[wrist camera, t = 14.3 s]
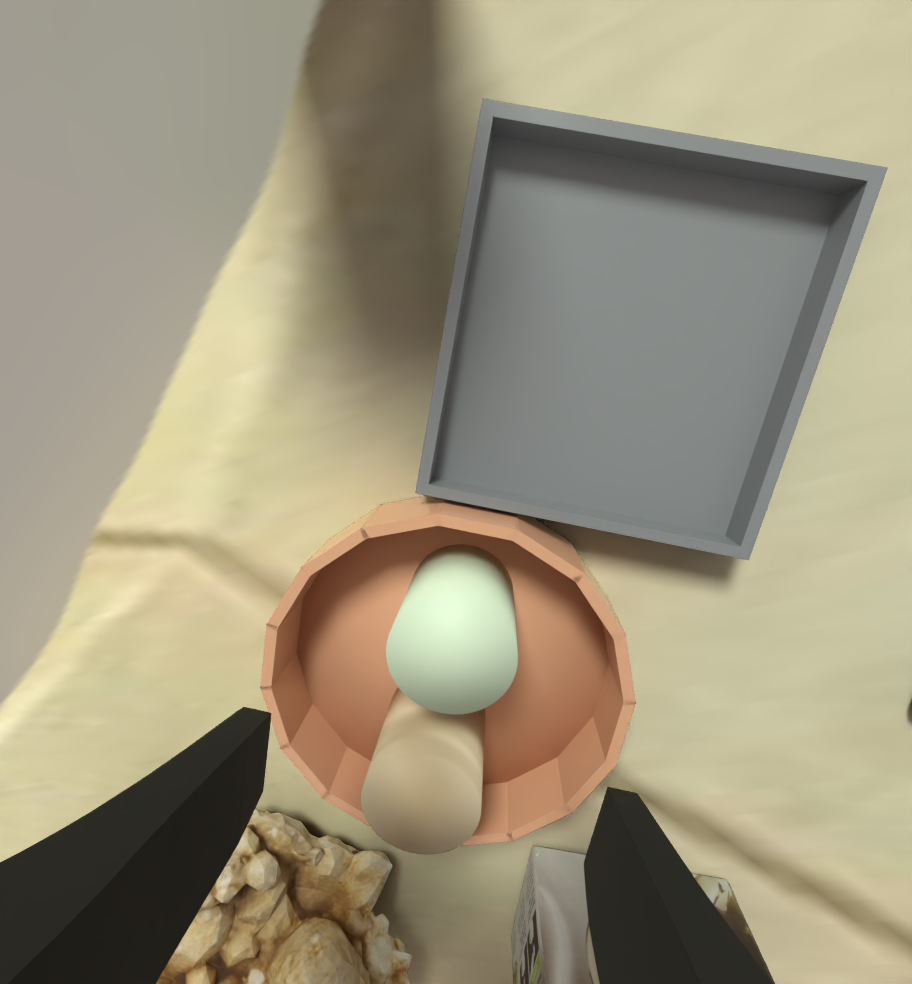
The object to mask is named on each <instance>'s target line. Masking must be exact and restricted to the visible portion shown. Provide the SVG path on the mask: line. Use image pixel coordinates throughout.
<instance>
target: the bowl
mask: <svg viewBox="0 0 912 984" xmlns="http://www.w3.org/2000/svg"><path fill="white" fill-rule="evenodd" d="M457 544H465V545H472V546H476V547H479V548H482V549H484V550H486V551H488V552H489V553H491V554H493V555H494V556H495V557H496V558H498V559H499V560H500V561H501V562H502V564H503V565H504V566H505V568H506V569H507V571H508V573H509V575H510V577H511V580H512V584H513V591H514V606H515V621H516V636H517V650H518V665H517V670H516V674H515V677H514V680H513V681H512V683H511V685H510V687H509V688H508V690H507V691H506V692H505V694H504V695H503V696H502V697H501V698H500V699H498V700H497V701H496V702H494V703H493V704H491V705H490V706H488V707H486V708H484V709H485V735H484V758H483V781H482V804H481V817H480V821H479V824H478V826H477V828H476V830H475V832H474V833H473V834H472V836H471V837H470V838H469V839H468V840H467V841H466V842H464V843H463V844H462V845H460V846H463V845H473V844H484V843H495V842H505V841H513V840H515V839H517V838H519V837H522V836H524V835H526V834H528V833H530V832H532V831H534V830H536V829H539V828H541V827H543V826H545V825H547V824H549V823H551V822H554V821H556V820H558V819H560V818H562V817H564V816H566V815H568V814H571V813H573V811H574V810H575V809H576V808H577V807H578V806H579V805H580V804H581V803H582V802H583V800H584V799H585V798H586V797H587V796H588V795H589V794H590V793H591V792H592V791H593V790H594V789H595V787H596V786H597V785H598V784H599V783H600V782H601V781H602V780H603V779H604V778H605V777H606V775H607V774H608V773H609V772H610V771H611V770H612V769H613V768H614V767H615V766H616V765H617V760H618V757H619V754H620V751H621V748H622V745H623V742H624V738H625V735H626V732H627V729H628V726H629V723H630V720H631V716H632V713H633V710H634V707H635V704H636V701H635V695H634V688H633V682H632V675H631V668H630V662H629V655H628V648H627V642H626V635H625V632H624V630H623V628H622V626H621V624H620V622H619V620H618V618H617V616H616V614H615V612H614V610H613V608H612V605H611V603H610V601H609V599H608V597H607V595H606V594H605V593H604V591H603V590H602V588H601V587H600V585H599V584H598V582H597V581H596V579H595V578H594V576H593V575H592V573H591V572H590V570H589V569H588V567H587V566H586V564H585V563H584V561H583V560H582V558H581V557H580V555H579V554H578V552H577V551H576V549H575V548H574V546H573V545H572V543H571V542H569V541H568V540H566V539H565V538H563V537H562V536H560V535H559V534H557V533H556V532H554V531H553V530H551V529H550V528H548V527H546V526H545V525H543V524H542V523H540V522H539V521H537V520H536V519H534V518H533V517H531V516H527V515H522V514H517V513H512V512H507V511H502V510H497V509H492V508H487V507H482V506H477V505H472V504H467V503H462V502H457V501H452V500H447V499H442V498H437V497H432V496H424V497H419V498H413V499H408V500H403V501H397V502H392V503H387V504H382V505H380V506H379V507H377V508H376V509H374V510H373V511H371V512H370V513H368V514H367V515H365V516H364V517H362V518H361V519H359V520H358V521H356V522H355V523H353V524H352V525H350V526H349V527H347V528H346V529H344V530H343V531H341V532H340V533H338V534H337V535H335V536H334V537H332V538H330V539H329V540H328V541H327V542H326V543H325V544H324V545H323V546H322V547H321V548H320V549H319V550H318V551H317V552H316V553H315V554H314V555H313V556H312V557H311V558H310V559H309V560H308V561H307V562H306V563H305V564H304V565H303V566H302V567H301V569H300V571H299V572H298V574H297V576H296V577H295V579H294V580H293V582H292V584H291V585H290V587H289V589H288V590H287V592H286V594H285V595H284V597H283V598H282V600H281V602H280V603H279V605H278V607H277V608H276V610H275V612H274V613H273V615H272V617H271V618H270V620H269V621H268V623H267V627H266V637H265V647H264V657H263V667H262V677H261V686H260V689H261V691H262V694H263V697H264V700H265V703H266V706H267V709H268V712H269V713H271V721H272V724H273V727H274V730H275V733H276V736H277V739H278V742H279V745H280V748H281V749H282V750H283V752H284V753H285V754H286V755H287V756H288V758H289V759H290V760H291V761H292V762H293V764H294V765H295V766H296V767H297V768H298V769H299V771H300V772H301V773H302V774H303V775H304V777H305V778H306V779H307V780H308V781H309V783H310V784H311V785H312V786H313V787H314V789H315V790H316V791H317V792H318V793H319V795H320V796H321V797H322V798H323V799H325V800H327V801H328V802H330V803H332V804H333V805H335V806H337V807H338V808H340V809H342V810H343V811H345V812H347V813H348V814H350V815H352V816H353V817H355V818H357V819H358V820H360V821H362V822H363V823H365V824H367V825H368V826H370V825H369V824H368V822H367V820H366V818H365V816H364V813H363V810H362V806H361V792H362V788H363V784H364V781H365V778H366V775H367V772H368V769H369V766H370V763H371V760H372V757H373V754H374V751H375V748H376V745H377V742H378V739H379V736H380V733H381V730H382V727H383V724H384V721H385V718H386V715H387V712H388V709H389V706H390V703H391V700H392V697H393V695H394V693H395V691H396V690H397V688H398V686H397V685H396V683H395V681H394V680H393V678H392V676H391V674H390V671H389V668H388V665H387V659H386V645H387V640H388V636H389V633H390V631H391V628H392V626H393V623H394V621H395V619H396V616H397V614H398V612H399V609H400V607H401V604H402V602H403V600H404V597H405V595H406V592H407V590H408V588H409V585H410V583H411V580H412V578H413V576H414V573H415V571H416V569H417V568H418V566H419V564H420V563H421V562H422V561H423V560H424V559H425V558H426V557H427V556H428V555H429V554H431V553H432V552H434V551H436V550H438V549H440V548H442V547H445V546H449V545H457Z"/></svg>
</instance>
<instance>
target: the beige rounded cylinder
mask: <svg viewBox="0 0 912 984" xmlns="http://www.w3.org/2000/svg"><path fill="white" fill-rule="evenodd" d="M484 735H485V709H482V710H479V711H476V712H472V713H467V714H456V715H454V714H444V713H438V712H435V711H431V710H429V709H426V708H424V707H422V706H420V705H418V704H417V703H415V702H414V701H412V700H411V699H410V698H408V697H407V696H406V695H405V694H404V693H403V692H402V691H401V690H400V688H399V687H398V688H397V690H396V691H395V693H394V695H393V697H392V700H391V703H390V706H389V709H388V712H387V715H386V718H385V721H384V724H383V727H382V730H381V733H380V736H379V739H378V742H377V745H376V748H375V751H374V754H373V757H372V760H371V763H370V766H369V769H368V772H367V775H366V778H365V781H364V784H363V788H362V792H361V806H362V810H363V813H364V816H365V818H366V820H367V822H368V824H369V825H370V827H371V828H372V829H373V830H374V832H375V833H376V834H377V835H378V836H380V837H381V838H382V839H383V840H385V841H386V842H388V843H389V844H391V845H393V846H395V847H397V848H399V849H402V850H404V851H408V852H412V853H417V854H437V853H443V852H446V851H450V850H452V849H455V848H456V847H458V846H460V845H462V844H463V843H464V842H466V841H467V840H468V839H469V838H470V837H471V836H472V834H473V833H474V832H475V830H476V828H477V826H478V824H479V821H480V817H481V804H482V781H483V758H484Z"/></svg>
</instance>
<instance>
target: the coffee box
mask: <svg viewBox="0 0 912 984" xmlns="http://www.w3.org/2000/svg"><path fill="white" fill-rule="evenodd" d="M585 857H586V855H584V854H578V853H573V852H567V851H561V850H556V849H550V848H545V847H539V846H534V847H532V849H531V853H530V857H529V862H528V866H527V870H526V875H525V878H524V882H523V887H522V891H521V895H520V900H519V904H518V908H517V912H516V917H515V921H514V926H513V931H512V936H511V942H512V961H513V984H600V983H599V978H598V973H597V967H596V962H595V956H594V951H593V946H592V940H591V934H590V929H589V922H588V912H587V901H586V890H585V876H584V860H585ZM692 875H693V876H694V878H695V879H696V881H697V882H698V883H699V885H700V886H701V888H702V889H703V891H704V892H705V893H706V895H707V896H708V898H709V899H710V900H711V902H712V903H713V905H714V906H715V907H716V909H717V910H718V911H719V913H720V914H721V915H722V917H723V918H724V920H725V921H726V922H727V924H728V925H729V926H730V928H731V929H732V930H733V932H734V933H735V934H736V936H737V937H738V938H739V939H740V941H741V942H742V943H743V945H744V946H745V947H746V949H747V950H748V951H749V952H750V954H751V955H752V956H753V958H754V959H755V960H756V962H757V963H758V964H759V965H760V967H761V968H762V969H763V971H764V972H765V973H766V974H767V976H768V977H769V978H770V979H771V981H772V982H773V983H774V981H773V978H772V976H771V974H770V972H769V970H768V967H767V965H766V963H765V961H764V959H763V957H762V955H761V953H760V950H759V948H758V946H757V944H756V941H755V939H754V937H753V935H752V933H751V931H750V929H749V926H748V924H747V922H746V920H745V918H744V916H743V914H742V911H741V909H740V907H739V905H738V902H737V900H736V898H735V895H734V893H733V891H732V888H731V886H730V884H729V882H728V881H727V880H725V879H721V878H716V877H709V876H703V875H698V874H692ZM774 984H775V983H774Z"/></svg>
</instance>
